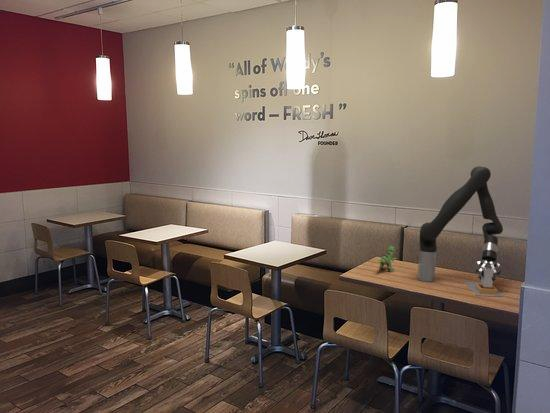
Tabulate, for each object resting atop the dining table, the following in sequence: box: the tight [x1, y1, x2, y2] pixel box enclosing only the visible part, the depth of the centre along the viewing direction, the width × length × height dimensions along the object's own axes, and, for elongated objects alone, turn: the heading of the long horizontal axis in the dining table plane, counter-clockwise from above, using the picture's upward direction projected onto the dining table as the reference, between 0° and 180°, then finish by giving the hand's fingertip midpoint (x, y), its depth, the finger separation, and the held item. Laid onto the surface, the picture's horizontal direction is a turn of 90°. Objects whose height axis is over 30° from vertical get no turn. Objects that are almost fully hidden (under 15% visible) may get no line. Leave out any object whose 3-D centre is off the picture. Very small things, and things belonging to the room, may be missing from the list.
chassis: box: [464, 281, 503, 298], centre depth 269 cm, size 14×22×4 cm, turn 174°
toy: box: [378, 245, 397, 273], centre depth 303 cm, size 12×21×15 cm, turn 172°
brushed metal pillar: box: [480, 267, 494, 288], centre depth 263 cm, size 4×4×10 cm
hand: (486, 279), depth 262 cm, fingers closed on brushed metal pillar, 5 cm apart
